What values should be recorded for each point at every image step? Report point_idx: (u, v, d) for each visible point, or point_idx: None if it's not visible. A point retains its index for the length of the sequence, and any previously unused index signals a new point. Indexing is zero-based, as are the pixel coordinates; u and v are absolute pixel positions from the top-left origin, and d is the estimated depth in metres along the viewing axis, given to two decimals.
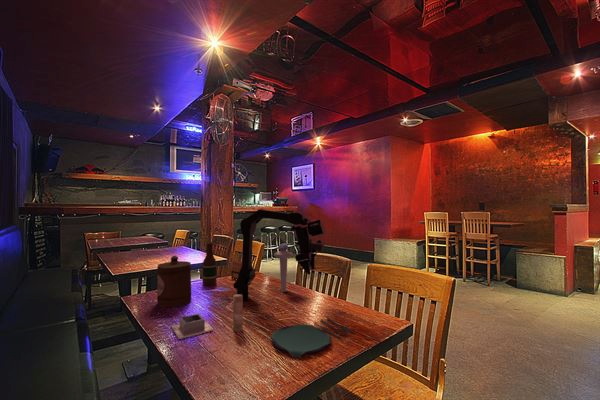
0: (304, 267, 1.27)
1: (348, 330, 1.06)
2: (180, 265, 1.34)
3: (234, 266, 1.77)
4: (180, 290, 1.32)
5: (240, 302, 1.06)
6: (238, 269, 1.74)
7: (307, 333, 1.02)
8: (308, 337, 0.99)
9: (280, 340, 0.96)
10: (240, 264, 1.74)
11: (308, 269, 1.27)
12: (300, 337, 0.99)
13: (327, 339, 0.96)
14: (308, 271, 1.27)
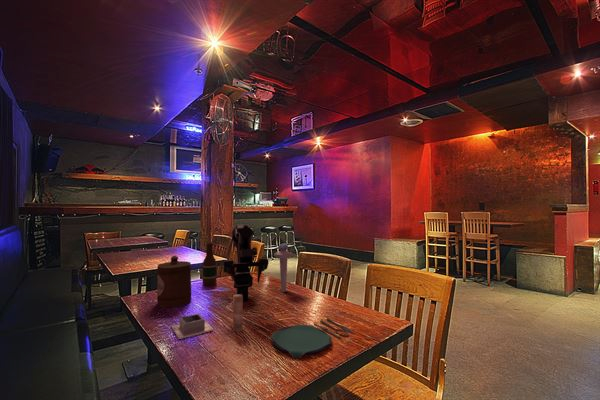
0: (232, 277, 1.20)
1: (348, 330, 1.06)
2: (180, 265, 1.34)
3: None
4: (180, 290, 1.32)
5: (240, 302, 1.06)
6: None
7: (307, 333, 1.02)
8: (308, 337, 0.99)
9: (280, 340, 0.96)
10: None
11: (233, 279, 1.18)
12: (300, 337, 0.99)
13: (327, 339, 0.96)
14: (234, 281, 1.18)
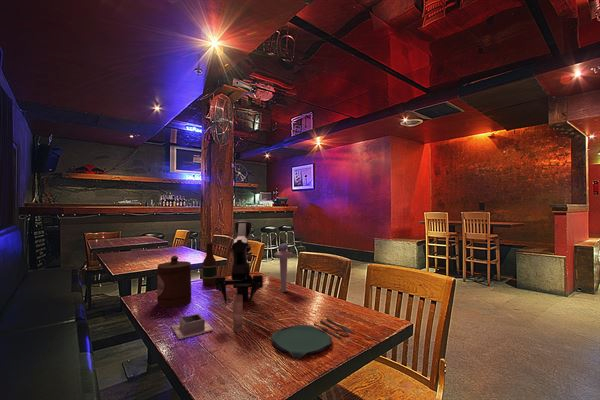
0: (223, 295, 1.11)
1: (348, 330, 1.06)
2: (180, 265, 1.34)
3: None
4: (180, 290, 1.32)
5: (240, 302, 1.06)
6: None
7: (307, 334, 1.02)
8: (309, 337, 0.99)
9: (280, 341, 0.96)
10: None
11: None
12: (300, 338, 0.98)
13: (328, 339, 0.96)
14: (224, 299, 1.09)
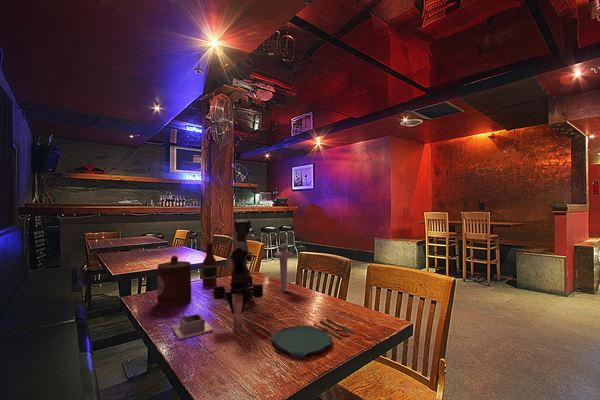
0: (229, 305, 1.09)
1: (348, 330, 1.06)
2: (180, 265, 1.34)
3: None
4: (180, 290, 1.32)
5: (240, 302, 1.06)
6: None
7: (307, 334, 1.02)
8: (309, 338, 0.99)
9: (281, 341, 0.96)
10: None
11: (230, 307, 1.07)
12: (301, 338, 0.98)
13: (328, 340, 0.96)
14: None
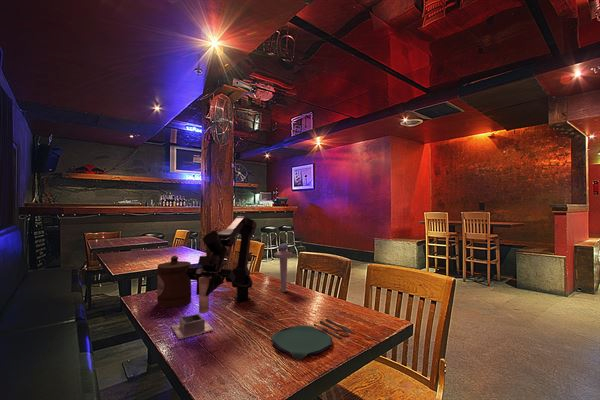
0: None
1: (348, 330, 1.06)
2: (180, 265, 1.34)
3: (234, 266, 1.77)
4: (180, 290, 1.32)
5: (204, 284, 1.05)
6: None
7: (307, 334, 1.01)
8: (309, 338, 0.99)
9: (281, 342, 0.95)
10: None
11: None
12: (301, 338, 0.98)
13: (328, 340, 0.96)
14: None
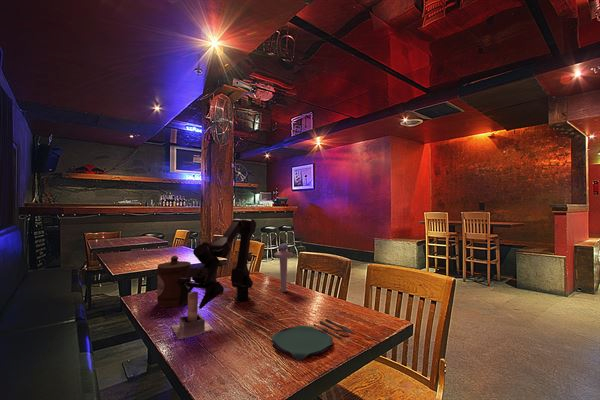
0: None
1: (348, 330, 1.06)
2: (180, 265, 1.34)
3: (234, 266, 1.77)
4: (180, 290, 1.32)
5: (192, 300, 1.06)
6: None
7: (308, 334, 1.01)
8: (309, 338, 0.98)
9: (281, 342, 0.95)
10: None
11: None
12: (301, 339, 0.98)
13: (329, 340, 0.96)
14: None
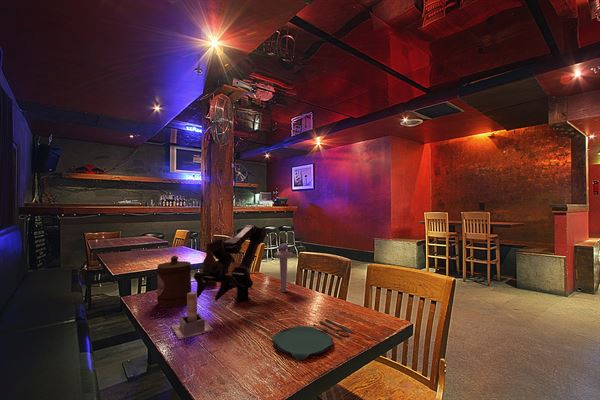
0: None
1: (348, 330, 1.06)
2: (180, 265, 1.34)
3: (234, 266, 1.77)
4: (180, 290, 1.32)
5: (191, 300, 1.06)
6: None
7: (308, 335, 1.01)
8: (310, 338, 0.98)
9: (282, 343, 0.95)
10: (240, 264, 1.74)
11: None
12: (301, 339, 0.98)
13: (329, 340, 0.96)
14: None
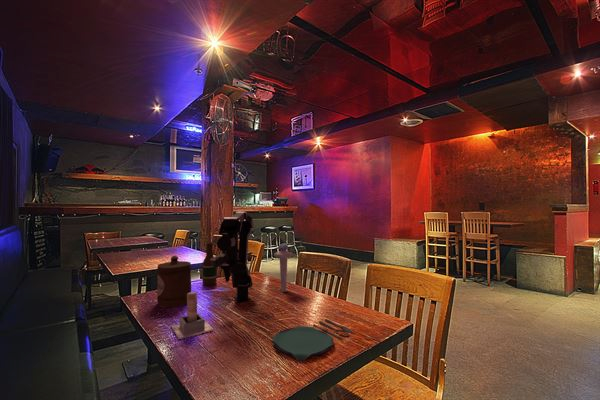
0: None
1: (348, 330, 1.06)
2: (180, 265, 1.34)
3: None
4: (180, 290, 1.32)
5: (191, 300, 1.06)
6: None
7: (308, 335, 1.01)
8: (310, 339, 0.98)
9: (282, 343, 0.94)
10: None
11: None
12: (302, 339, 0.97)
13: (330, 340, 0.96)
14: None
